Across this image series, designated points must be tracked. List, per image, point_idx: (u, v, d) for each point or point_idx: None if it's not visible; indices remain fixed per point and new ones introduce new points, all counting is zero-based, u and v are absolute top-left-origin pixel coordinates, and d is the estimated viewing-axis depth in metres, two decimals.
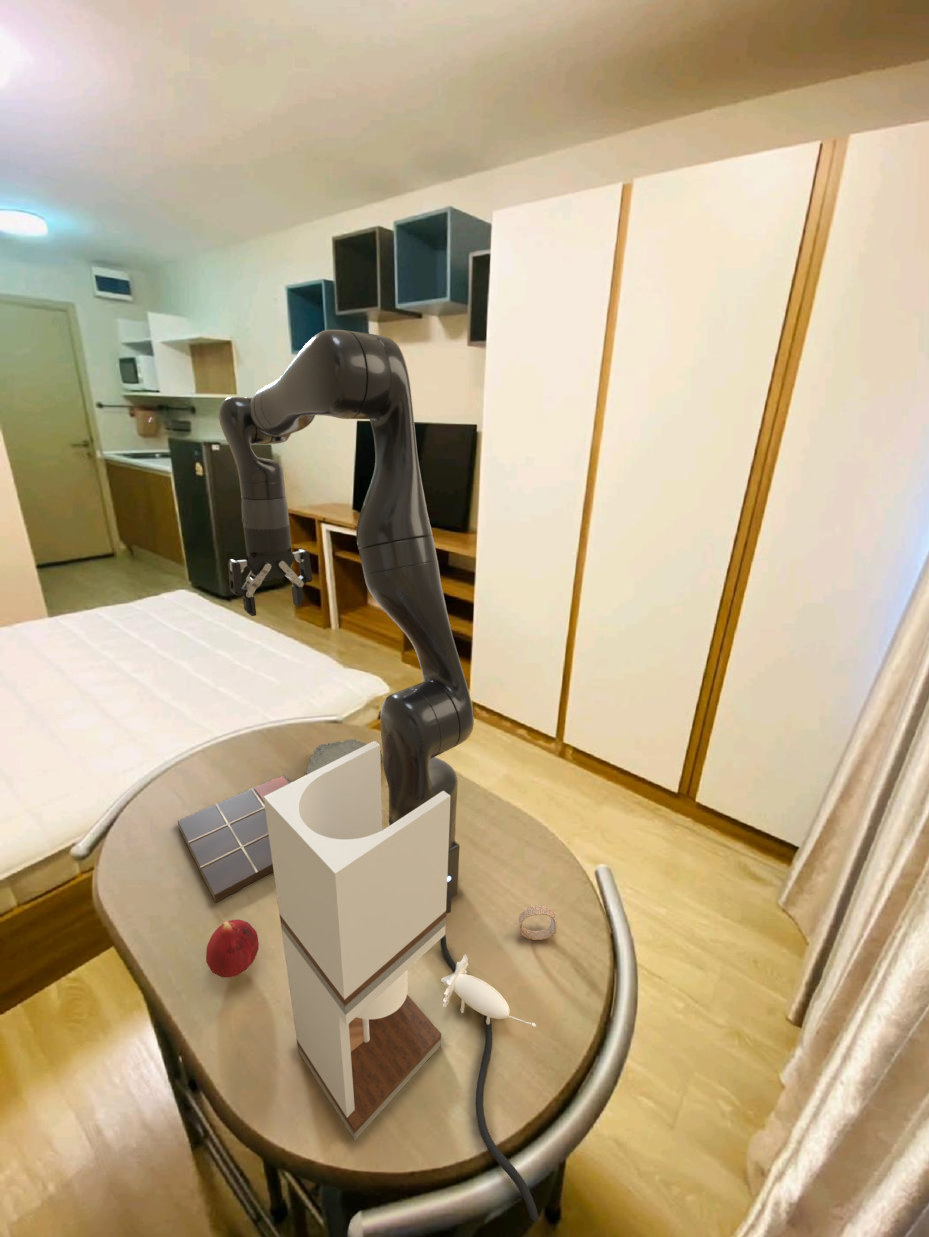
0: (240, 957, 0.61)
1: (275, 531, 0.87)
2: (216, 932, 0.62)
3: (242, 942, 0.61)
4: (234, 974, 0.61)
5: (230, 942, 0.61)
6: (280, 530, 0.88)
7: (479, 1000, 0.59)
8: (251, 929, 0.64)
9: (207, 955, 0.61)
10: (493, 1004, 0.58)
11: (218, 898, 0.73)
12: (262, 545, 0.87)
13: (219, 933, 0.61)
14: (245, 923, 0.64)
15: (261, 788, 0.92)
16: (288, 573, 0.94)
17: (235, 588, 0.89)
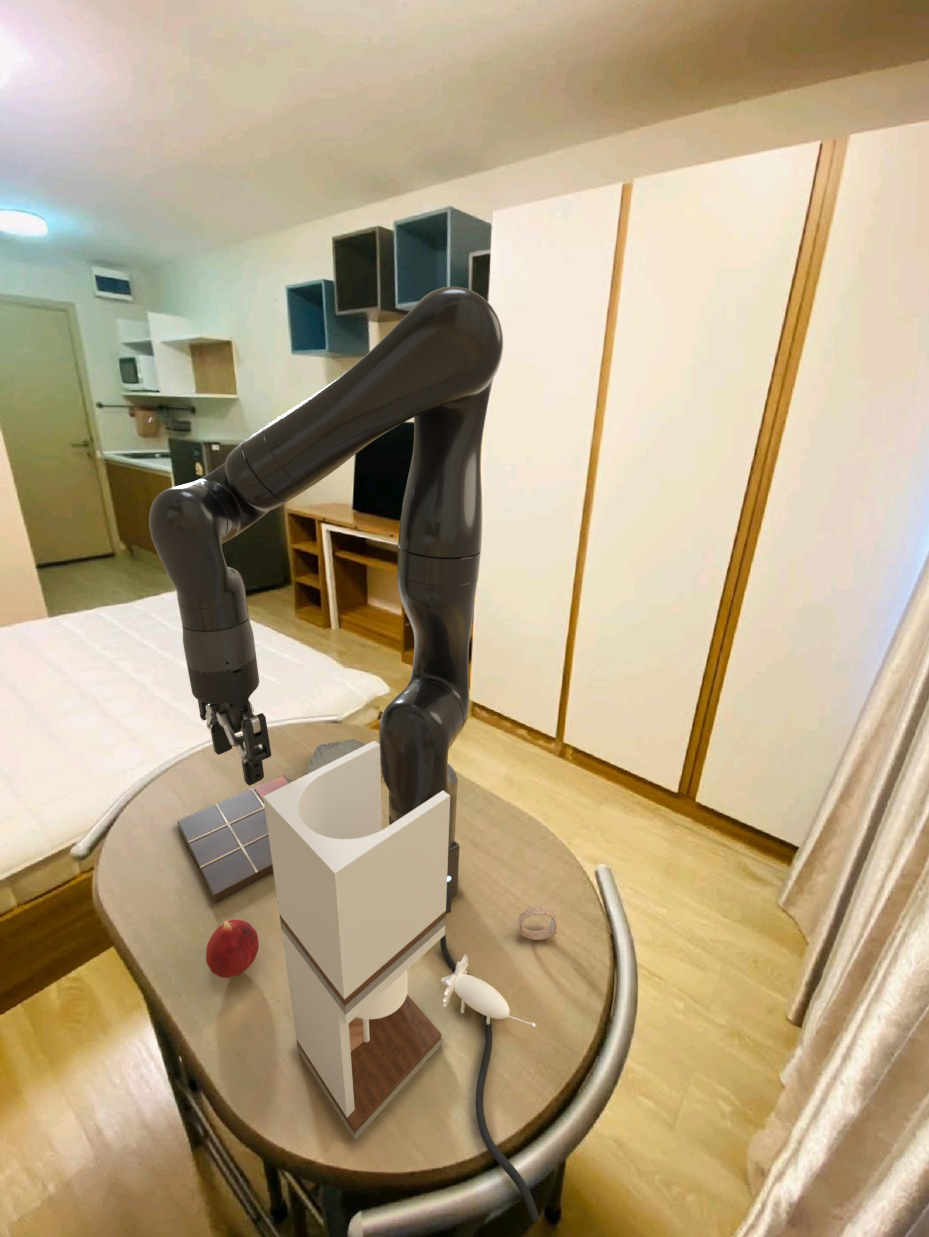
0: (240, 957, 0.61)
1: (189, 670, 0.59)
2: (216, 932, 0.62)
3: (242, 942, 0.61)
4: (234, 974, 0.61)
5: (230, 942, 0.61)
6: (194, 672, 0.59)
7: (479, 1000, 0.59)
8: (251, 929, 0.64)
9: (207, 955, 0.61)
10: (493, 1004, 0.58)
11: (218, 898, 0.73)
12: None
13: (219, 933, 0.61)
14: (245, 923, 0.64)
15: (261, 788, 0.92)
16: (227, 733, 0.62)
17: (199, 709, 0.69)
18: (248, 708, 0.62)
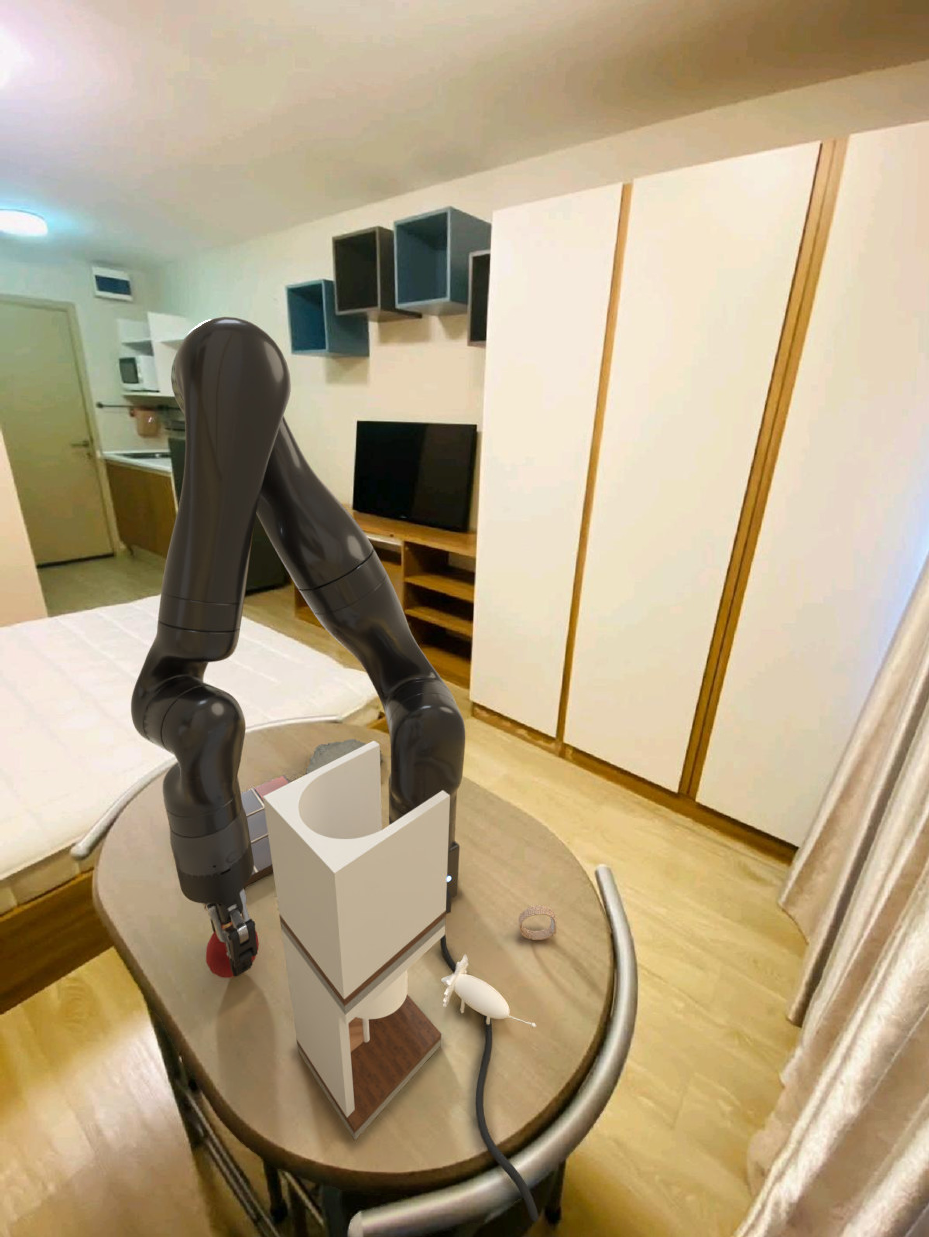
0: None
1: (176, 867, 0.55)
2: None
3: None
4: None
5: None
6: (179, 872, 0.54)
7: (479, 1000, 0.59)
8: None
9: (207, 955, 0.61)
10: (493, 1004, 0.58)
11: None
12: None
13: None
14: None
15: (261, 788, 0.92)
16: (214, 926, 0.58)
17: None
18: (238, 905, 0.57)
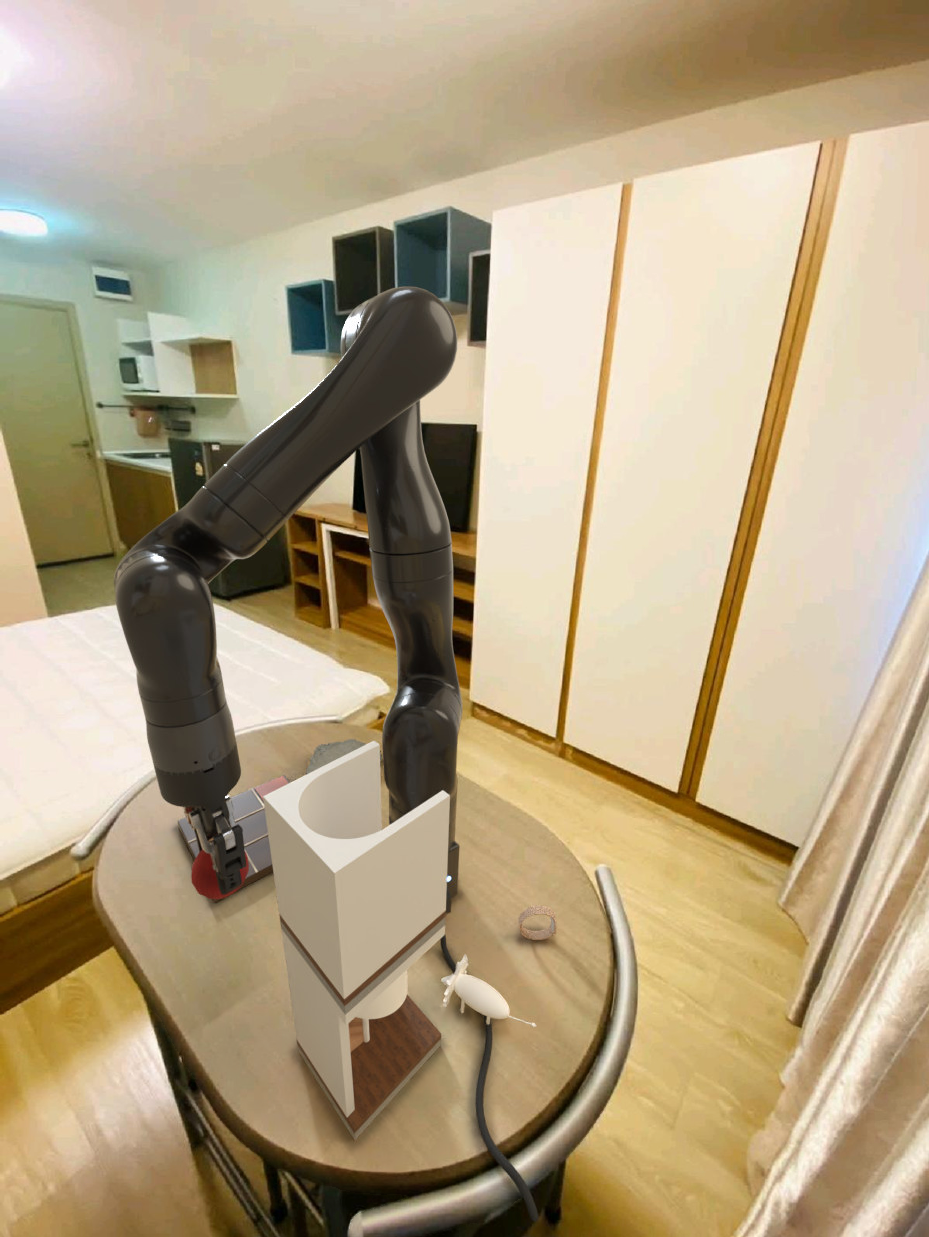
0: None
1: (154, 767, 0.50)
2: (202, 850, 0.57)
3: None
4: None
5: None
6: (158, 771, 0.49)
7: (479, 1000, 0.59)
8: None
9: (192, 874, 0.56)
10: (493, 1004, 0.58)
11: None
12: None
13: None
14: None
15: (261, 788, 0.92)
16: (199, 837, 0.53)
17: None
18: (224, 811, 0.52)
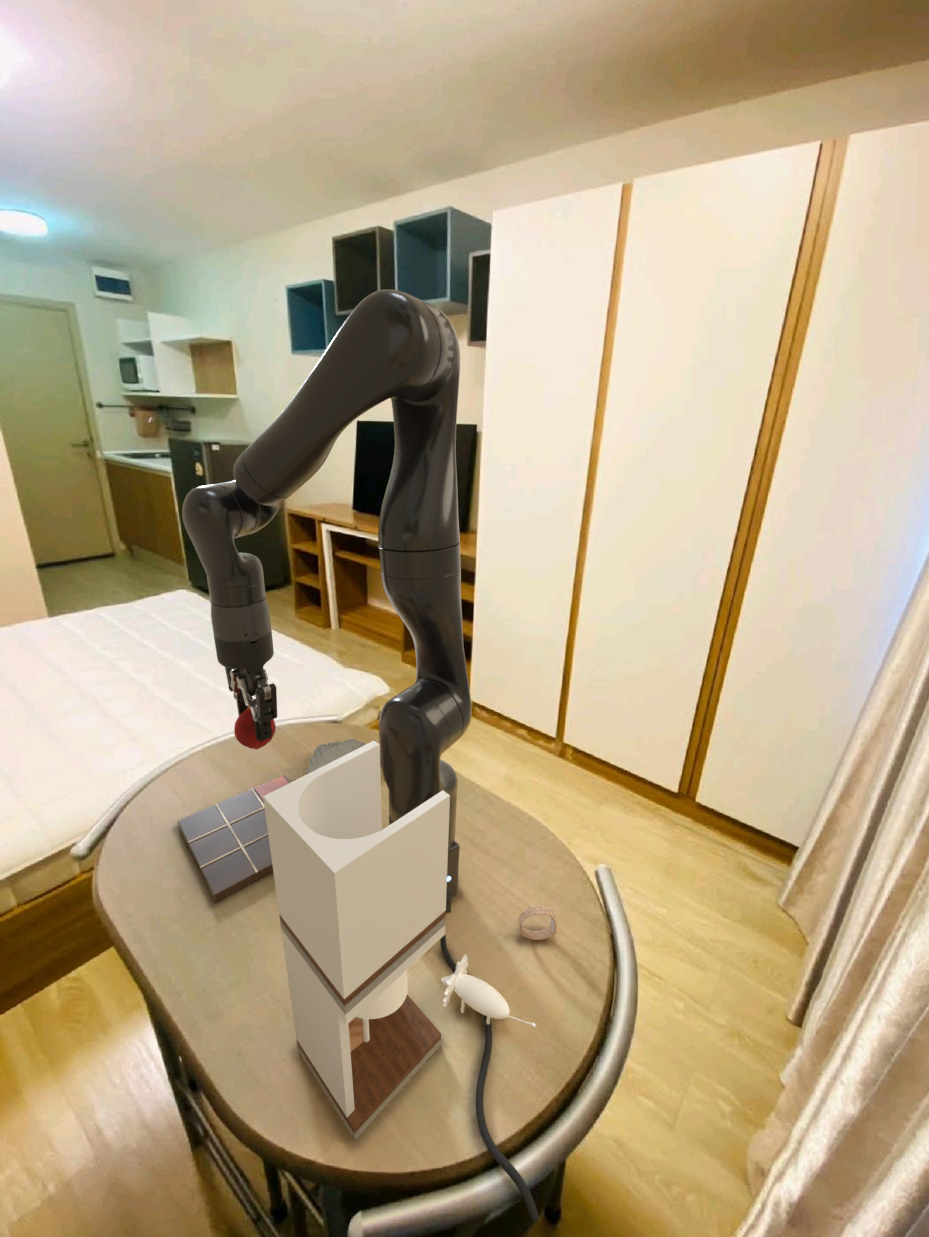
0: None
1: (215, 639, 0.71)
2: (242, 712, 0.78)
3: None
4: (257, 743, 0.77)
5: None
6: (218, 641, 0.70)
7: (479, 1000, 0.59)
8: None
9: (235, 727, 0.77)
10: (493, 1004, 0.58)
11: (218, 898, 0.73)
12: None
13: (245, 712, 0.78)
14: None
15: (261, 788, 0.92)
16: (243, 695, 0.74)
17: (228, 682, 0.80)
18: (262, 675, 0.73)
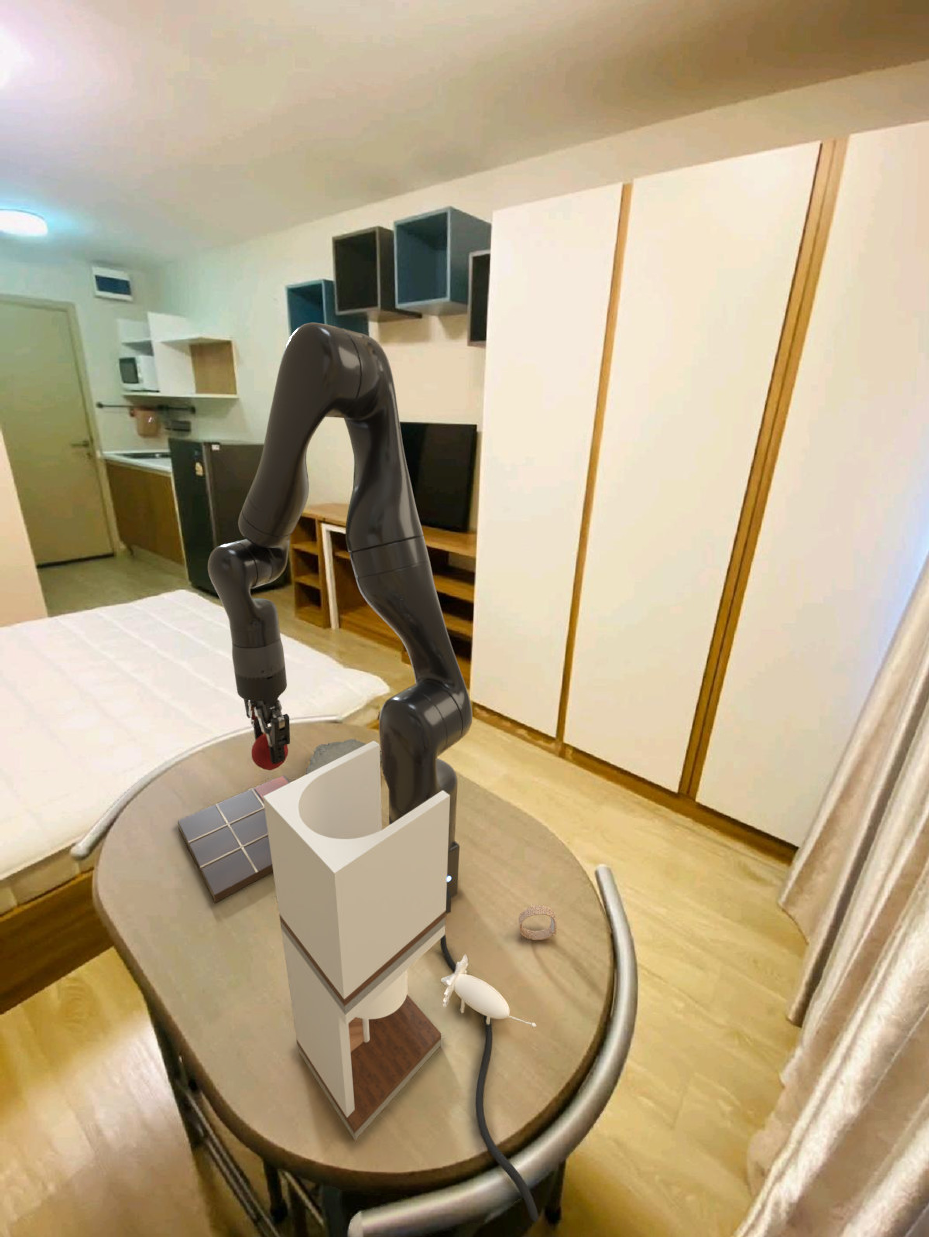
0: None
1: (235, 675, 0.80)
2: None
3: None
4: (271, 765, 0.86)
5: None
6: (238, 677, 0.79)
7: (479, 1000, 0.59)
8: None
9: (253, 751, 0.86)
10: (493, 1004, 0.58)
11: (218, 898, 0.73)
12: None
13: (261, 737, 0.87)
14: None
15: (261, 788, 0.92)
16: (260, 723, 0.83)
17: (246, 709, 0.90)
18: (277, 706, 0.82)
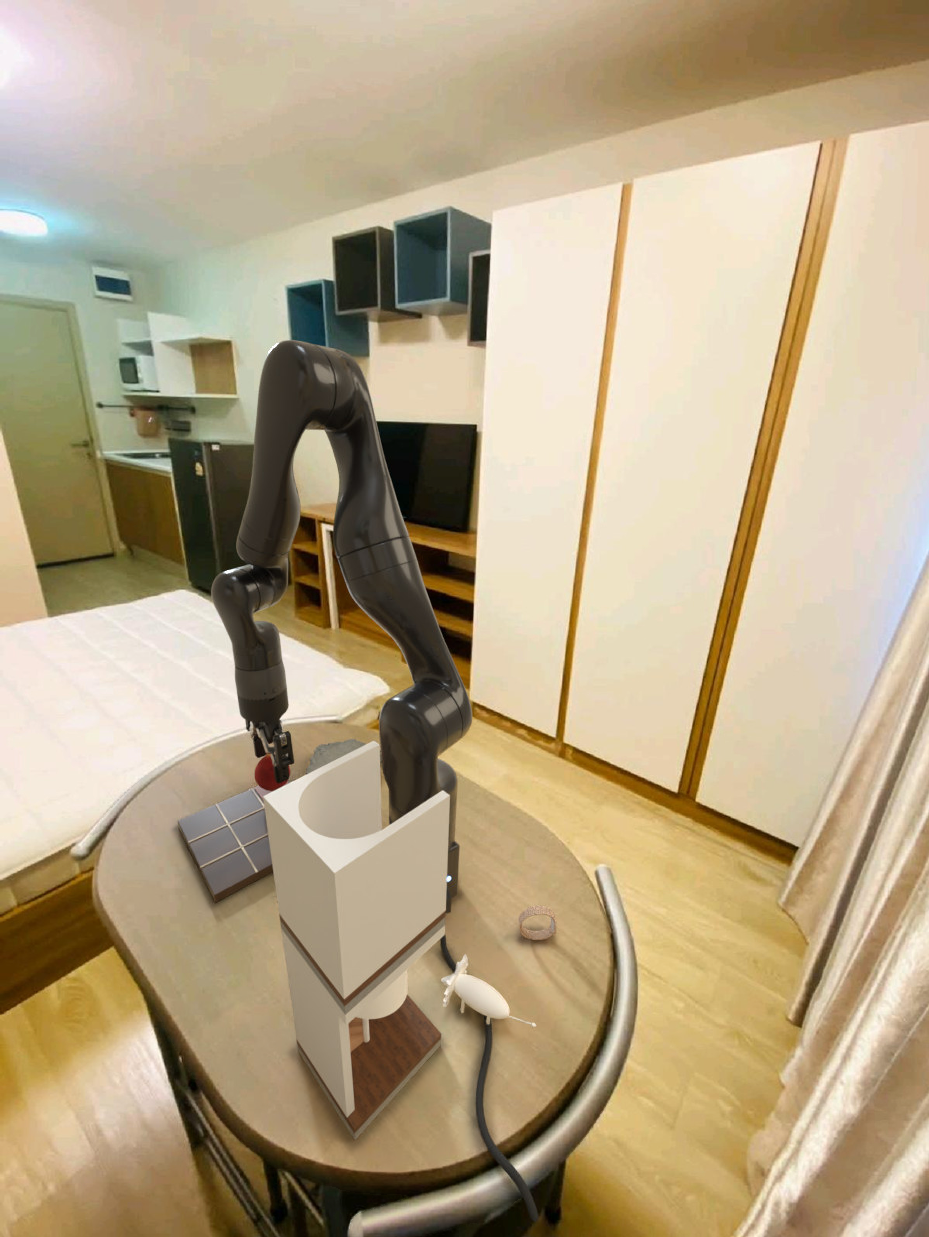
0: None
1: (238, 697, 0.81)
2: (261, 759, 0.89)
3: None
4: (274, 787, 0.88)
5: (272, 764, 0.88)
6: (241, 699, 0.81)
7: (479, 1000, 0.59)
8: None
9: (256, 773, 0.88)
10: (493, 1004, 0.58)
11: (218, 898, 0.73)
12: None
13: (263, 759, 0.88)
14: None
15: (261, 788, 0.92)
16: (263, 744, 0.84)
17: (246, 723, 0.91)
18: (279, 726, 0.83)
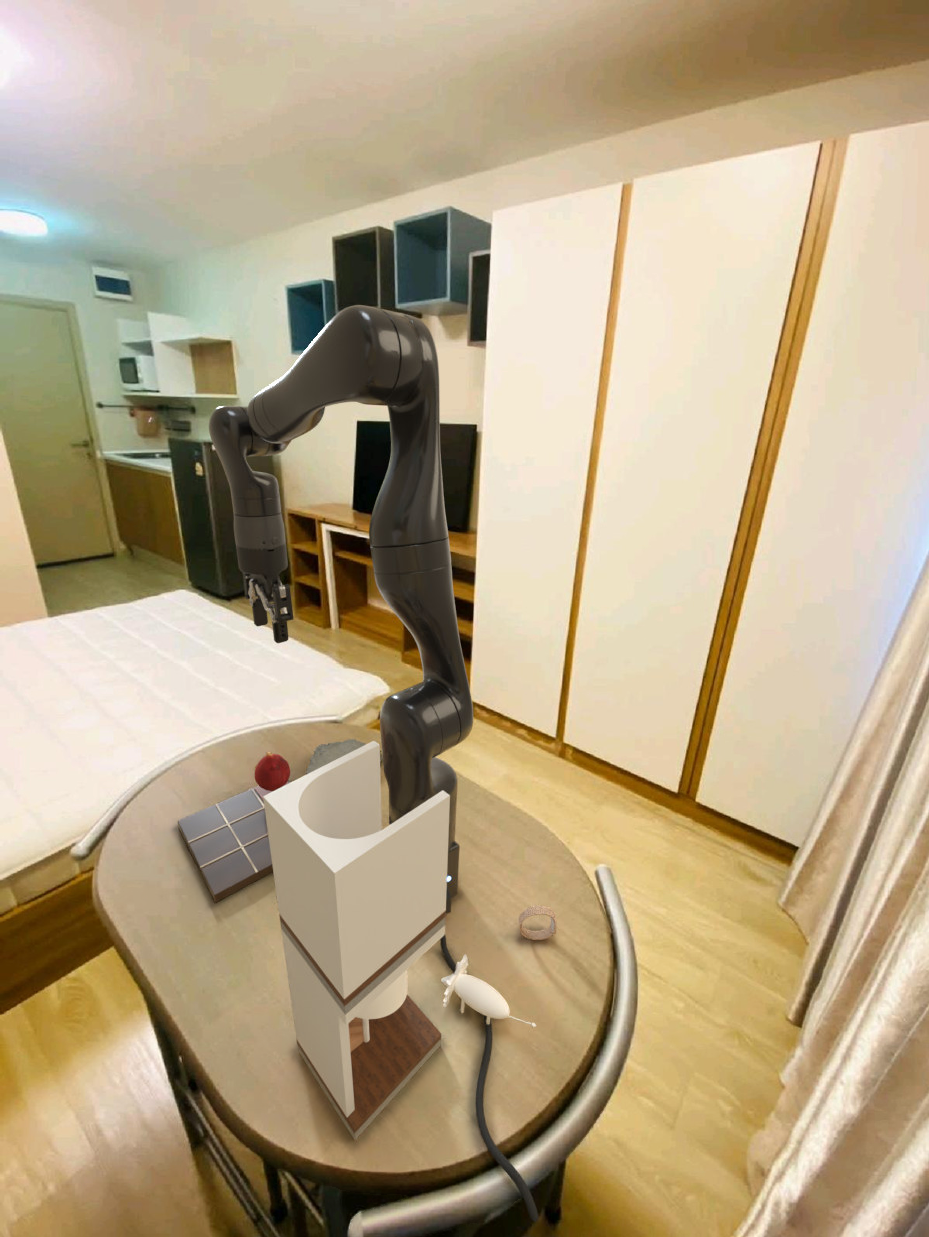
0: (279, 774, 0.88)
1: (237, 548, 0.81)
2: (261, 759, 0.89)
3: (280, 765, 0.88)
4: (274, 787, 0.88)
5: (272, 763, 0.88)
6: (240, 549, 0.80)
7: (479, 1000, 0.59)
8: (285, 760, 0.91)
9: (256, 773, 0.88)
10: (493, 1004, 0.58)
11: (218, 898, 0.73)
12: None
13: (264, 759, 0.88)
14: (281, 756, 0.91)
15: (261, 788, 0.92)
16: (262, 600, 0.84)
17: (245, 591, 0.91)
18: (278, 581, 0.83)
